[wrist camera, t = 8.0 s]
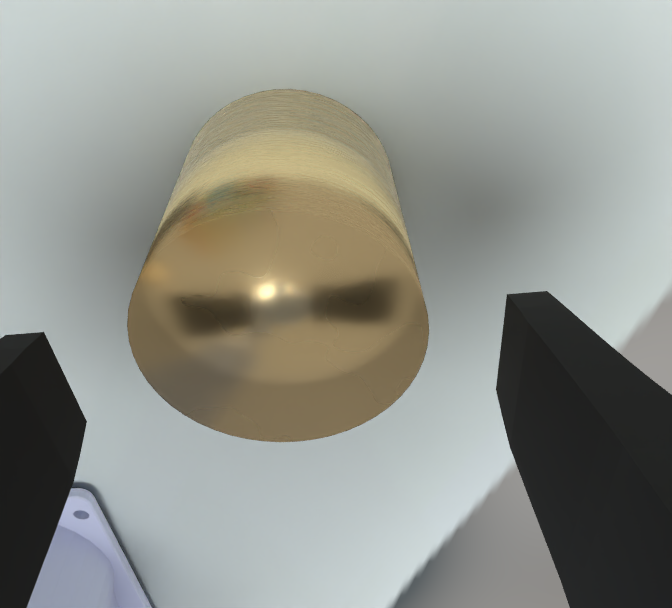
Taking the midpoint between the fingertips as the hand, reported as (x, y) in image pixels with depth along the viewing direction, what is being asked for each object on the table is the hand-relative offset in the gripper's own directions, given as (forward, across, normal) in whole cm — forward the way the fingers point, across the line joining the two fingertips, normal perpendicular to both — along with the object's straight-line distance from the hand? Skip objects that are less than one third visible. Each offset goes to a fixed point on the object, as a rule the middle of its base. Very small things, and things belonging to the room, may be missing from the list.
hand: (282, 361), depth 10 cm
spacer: (+6, 0, 0) cm, 6 cm away
